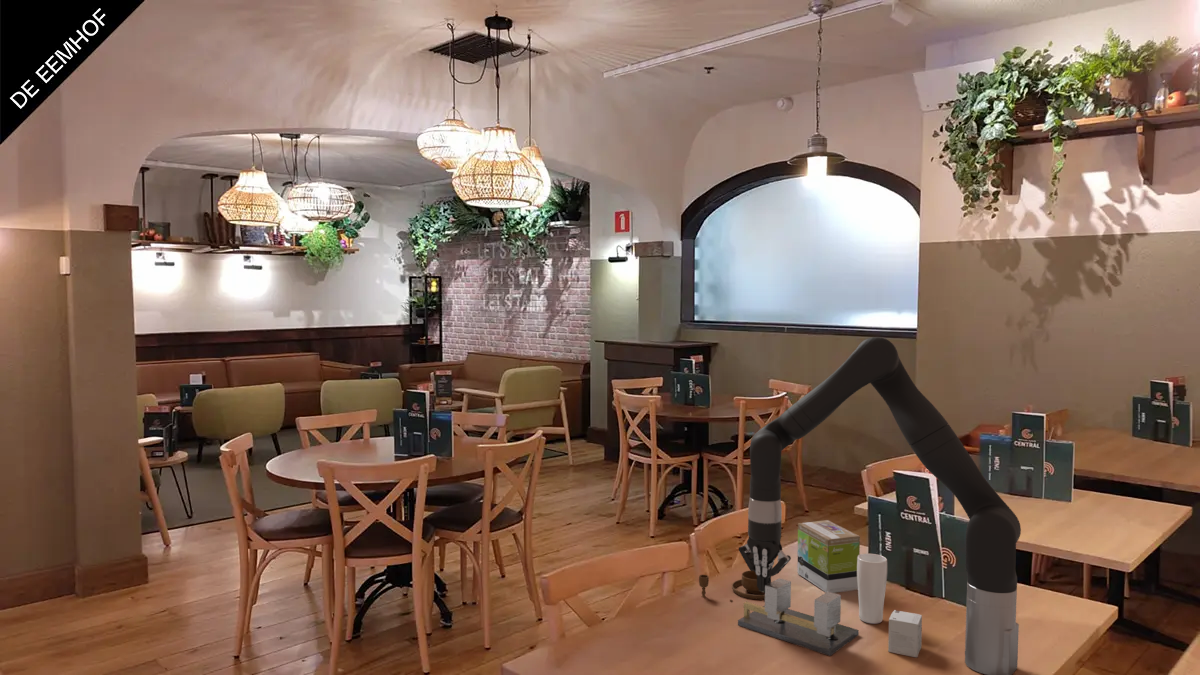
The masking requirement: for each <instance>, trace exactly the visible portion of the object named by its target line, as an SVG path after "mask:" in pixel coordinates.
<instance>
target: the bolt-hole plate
mask: <svg viewBox="0 0 1200 675" xmlns="http://www.w3.org/2000/svg"><path fill="white" fill-rule="evenodd" d="M763 607H765V604H764V605H763ZM786 614H789V615H792V616H795V617H799V618H802V619H805V620H808V621H812V622H814V615H810V614H807V613H803V612H800V611H797V610H794V609H790V608H788V609H786ZM737 626H739V627H742V628H745V629H747V630H751V631H755V632H757V633H760V634H762V635H766V636H769V637H772V638H775V639H778V640H781V641H784V642H787V643H790V644H793V645H797V646H799V647H802V648H804V649H809V650H810V651H811V650H812V651H813V652H816V653H819V654H824V655H826V656H829V657H831V656H833V654H835V653H836V652H838V651H839V650H841V649H842V648H843V647H844V646H846V645H847V644H849V643H850V642H851V641H853V640H854V639H856V638H857V637H858V636H859V633H860V632H859V629H857V628H853V627H849V626H847V625H843V624H840V623H838V624H836V628H835V637H834V639H831V638H830V637H828V636H824V635H821V634H818V633H817V631H815V630H812V629H809V628H806V627H803V626H799V625H796V624H793V623H790V622H787V621H785V622H782V621H781V620H780V621H777V620H774V619H771V618H768V615H764V614H761V613H758V612H755V611H752V612H750V617H748V618H745V617H744V616H743V617H741V618H740V619H738V620H737Z"/></svg>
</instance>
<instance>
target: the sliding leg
mask: <svg viewBox="0 0 1200 675" xmlns="http://www.w3.org/2000/svg"><path fill="white" fill-rule="evenodd" d="M764 595H765V599H764V605H765V612H768V618H771V619H774V620H777V621H780V613H781V612H782V613H786V609H790V608H791V607H792V606H791V602H792V601H791V599H792V581H791V580H788V579H784V578H780V577H779V578H777V579H775V580H772V581H771V583H769V584H767V585H765V593H764ZM781 621H782V622H785V621H784V620H781Z"/></svg>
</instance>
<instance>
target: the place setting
mask: <svg viewBox="0 0 1200 675" xmlns="http://www.w3.org/2000/svg"><path fill="white" fill-rule="evenodd" d="M709 579H710V578H709V575H708V574H700V575H698V584H699V587H701V595H702V596H700V597H701V598H702V599H703V598H706V588H707V587H708V586H709ZM740 586H742V587H743V588H744V589H745V590H747V592H748V593H745V592H742V591H739V590H737V589H736V588H737V587H740ZM731 589H732V592H733V593H734V594H736V595H737V596H738V597H741V598H744V599H745V598H746V599H751V600H765V594H762V593H763V592H761V591H759V588H758V587H757V574H756V572H754V571H751V570H746V571H743V572H742V573H741V579H738V580H735V581H734V582H732V583H731ZM729 602H730V603H734V600H733V599H729Z"/></svg>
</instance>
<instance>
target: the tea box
mask: <svg viewBox="0 0 1200 675" xmlns="http://www.w3.org/2000/svg"><path fill="white" fill-rule="evenodd" d="M860 537H861V536H860V535H858V534H856V533H855V532H852V531H850V530H848V529H847V528H844V527H843V526H841V525H838V524H837V523H834V522H832V521H831V520H829V519H825V520H817V521H807V522H802V523H801V522H798V523H797V575H799V576H801V577H802V578H804V579H805V580H807V581H809V582H810V583H811V584H813V585H814V586H815V587H817V588H819V589H820V590H822V592H824V593H827V592H832V593H835V594H838V593H843V592H851V591H858V585H857V557H858V555H860V554H861V552H860V551H861V550H860V548H861V547H860V545H861V541H860V540H861V539H860Z"/></svg>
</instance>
